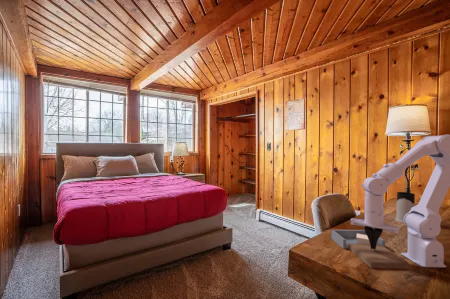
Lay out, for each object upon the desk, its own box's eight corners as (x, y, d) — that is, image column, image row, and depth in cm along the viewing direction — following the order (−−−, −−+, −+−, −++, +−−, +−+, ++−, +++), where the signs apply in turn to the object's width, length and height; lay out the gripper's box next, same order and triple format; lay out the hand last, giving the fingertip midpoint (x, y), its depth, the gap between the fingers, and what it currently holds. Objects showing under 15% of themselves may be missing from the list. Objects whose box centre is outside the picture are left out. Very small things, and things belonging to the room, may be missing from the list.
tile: (370, 246, 90) (370, 239, 90) (356, 243, 93) (356, 237, 93) (370, 241, 94) (370, 235, 94) (356, 239, 97) (356, 233, 97)
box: (384, 249, 88) (384, 240, 88) (343, 248, 89) (343, 239, 89) (367, 238, 99) (367, 229, 99) (330, 237, 100) (330, 229, 100)
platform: (408, 268, 74) (408, 262, 74) (371, 267, 75) (371, 261, 75) (379, 249, 88) (379, 244, 88) (348, 248, 89) (348, 243, 89)
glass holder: (393, 220, 124) (393, 193, 123) (399, 215, 133) (400, 189, 133) (414, 224, 117) (414, 195, 117) (419, 219, 126) (419, 192, 126)
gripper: (399, 212, 81) (399, 250, 81) (353, 205, 90) (353, 239, 91) (398, 216, 76) (398, 257, 76) (349, 209, 85) (349, 245, 85)
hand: (373, 248), depth 83 cm, fingers closed
